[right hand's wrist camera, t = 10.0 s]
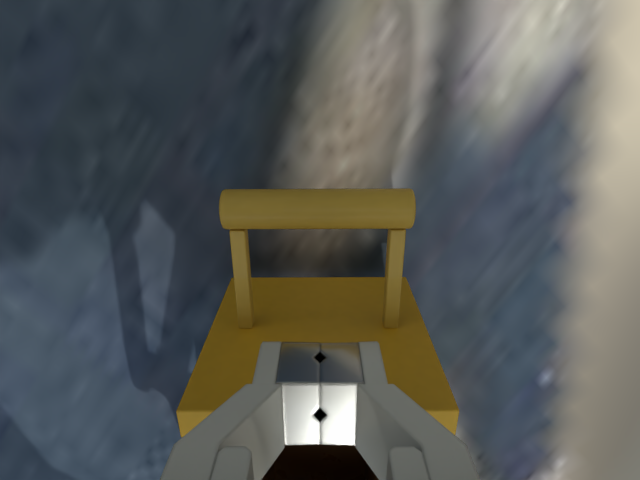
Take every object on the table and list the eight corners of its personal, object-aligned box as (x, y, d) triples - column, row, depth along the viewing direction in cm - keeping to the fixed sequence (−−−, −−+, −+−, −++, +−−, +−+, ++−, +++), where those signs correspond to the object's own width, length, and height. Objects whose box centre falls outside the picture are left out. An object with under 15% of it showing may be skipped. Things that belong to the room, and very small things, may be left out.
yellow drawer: (220, 164, 19) (143, 241, 11) (415, 163, 19) (489, 240, 11) (256, 529, 30) (231, 711, 21) (383, 528, 30) (408, 711, 21)
